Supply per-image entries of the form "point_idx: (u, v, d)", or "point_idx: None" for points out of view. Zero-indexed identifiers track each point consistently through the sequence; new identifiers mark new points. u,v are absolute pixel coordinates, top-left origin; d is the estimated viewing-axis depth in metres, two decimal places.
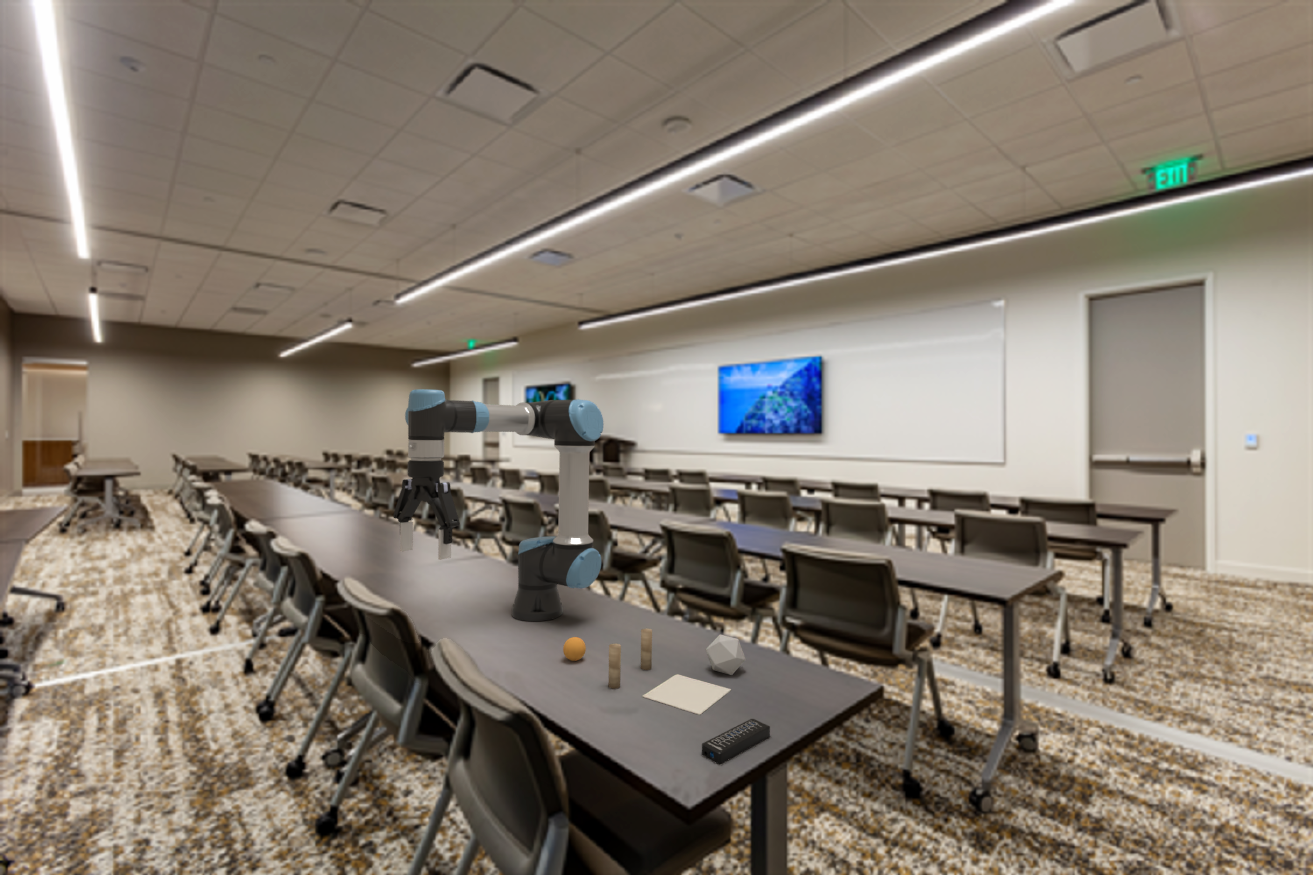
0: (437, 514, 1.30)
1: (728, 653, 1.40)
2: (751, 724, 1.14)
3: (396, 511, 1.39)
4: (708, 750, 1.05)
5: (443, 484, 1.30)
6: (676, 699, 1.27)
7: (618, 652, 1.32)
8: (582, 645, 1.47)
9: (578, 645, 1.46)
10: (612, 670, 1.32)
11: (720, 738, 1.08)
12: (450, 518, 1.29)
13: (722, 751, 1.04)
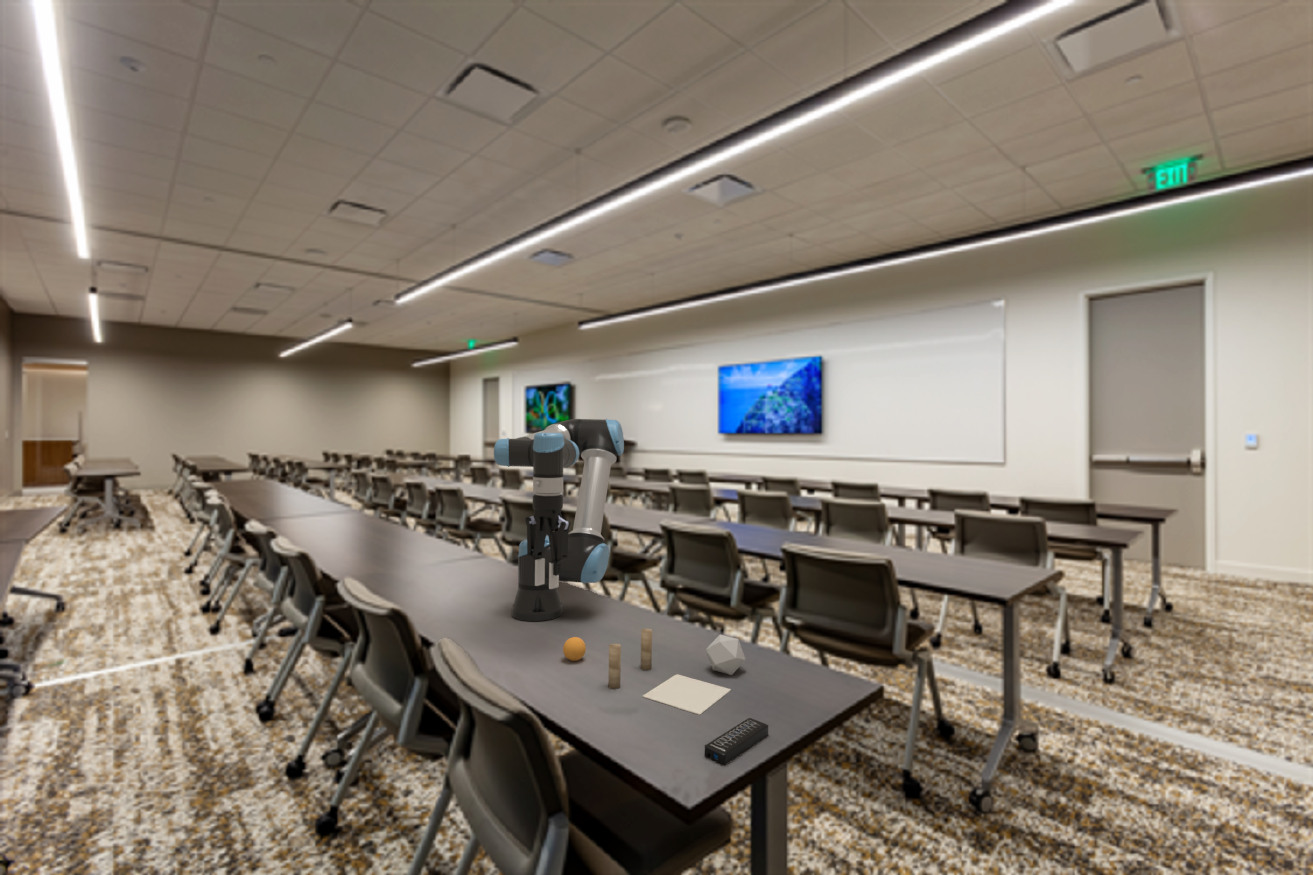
0: (552, 547, 1.50)
1: (728, 653, 1.40)
2: (749, 723, 1.14)
3: (528, 548, 1.55)
4: (712, 752, 1.05)
5: (566, 524, 1.49)
6: (676, 699, 1.27)
7: (618, 652, 1.32)
8: (582, 645, 1.47)
9: (578, 645, 1.46)
10: (612, 670, 1.32)
11: (722, 739, 1.08)
12: (562, 554, 1.49)
13: (726, 752, 1.04)
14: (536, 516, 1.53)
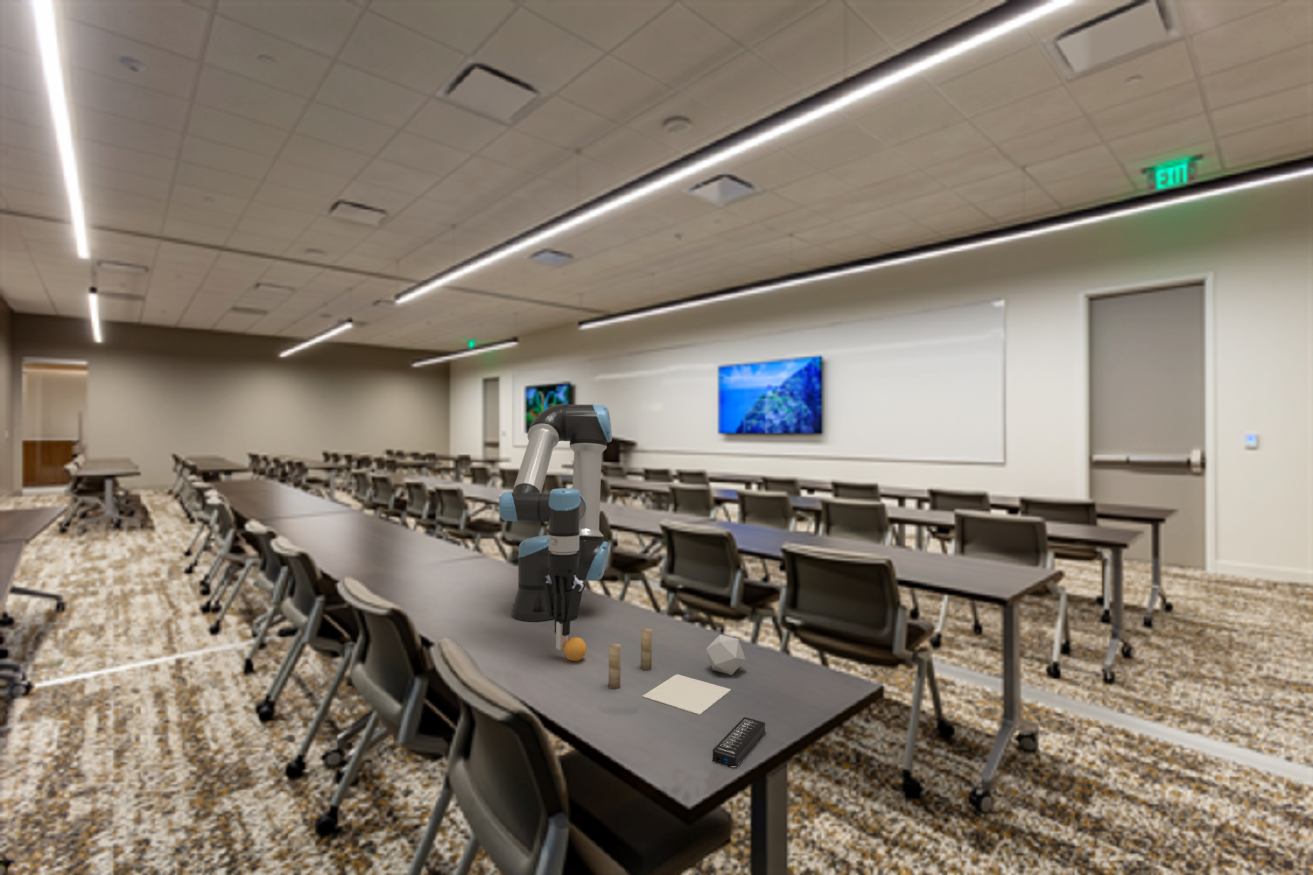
0: (563, 607, 1.47)
1: (728, 653, 1.40)
2: (747, 723, 1.14)
3: (549, 609, 1.50)
4: (721, 755, 1.03)
5: (580, 587, 1.45)
6: (676, 699, 1.27)
7: (618, 652, 1.32)
8: (582, 646, 1.46)
9: (579, 645, 1.46)
10: (612, 670, 1.32)
11: (726, 741, 1.07)
12: (572, 615, 1.46)
13: (736, 754, 1.03)
14: (552, 574, 1.50)
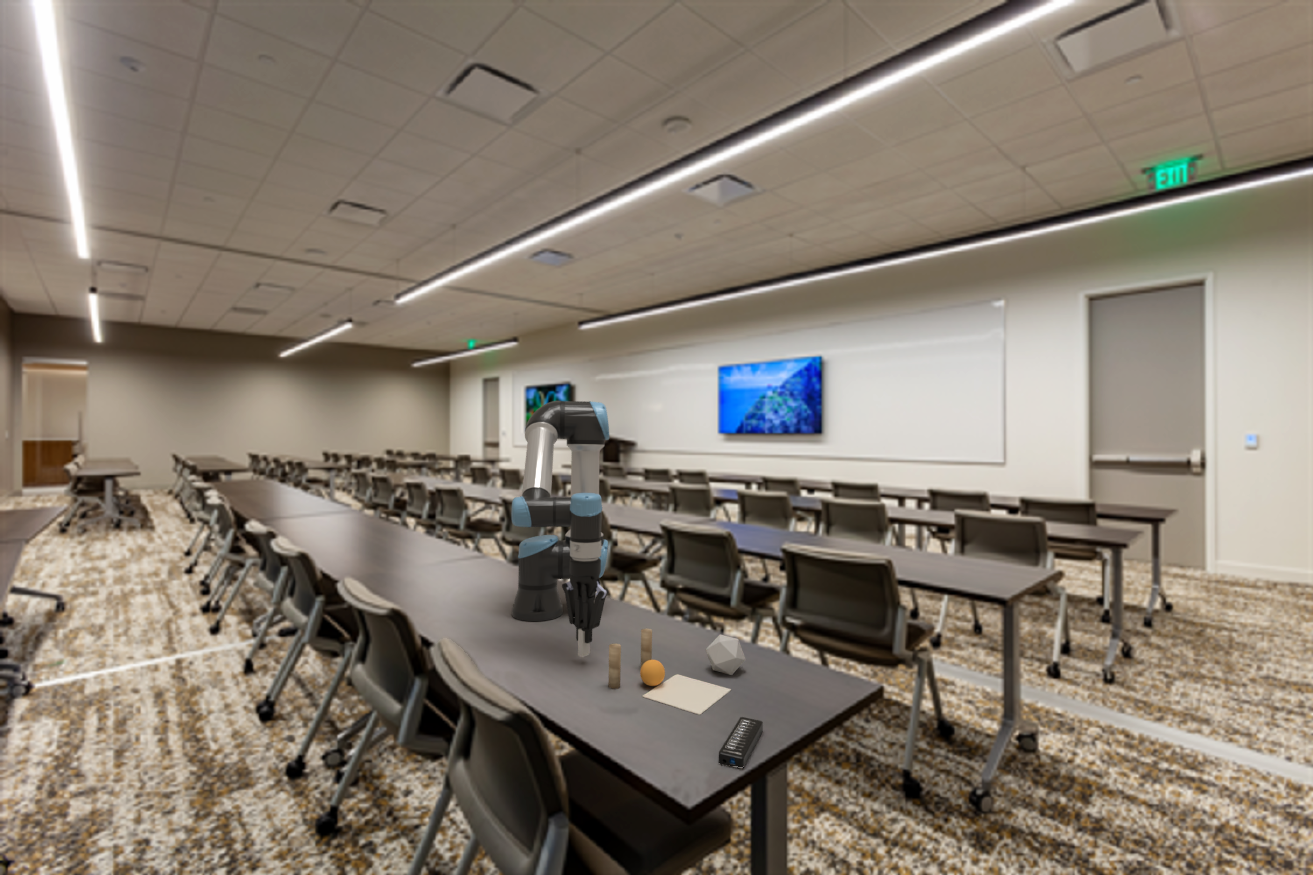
0: (585, 614, 1.44)
1: (728, 653, 1.40)
2: (745, 722, 1.14)
3: (570, 616, 1.47)
4: (728, 757, 1.03)
5: (604, 594, 1.42)
6: (676, 699, 1.27)
7: (618, 652, 1.32)
8: None
9: (651, 685, 1.34)
10: (612, 670, 1.32)
11: (730, 743, 1.07)
12: (595, 623, 1.43)
13: (743, 755, 1.03)
14: (573, 580, 1.47)
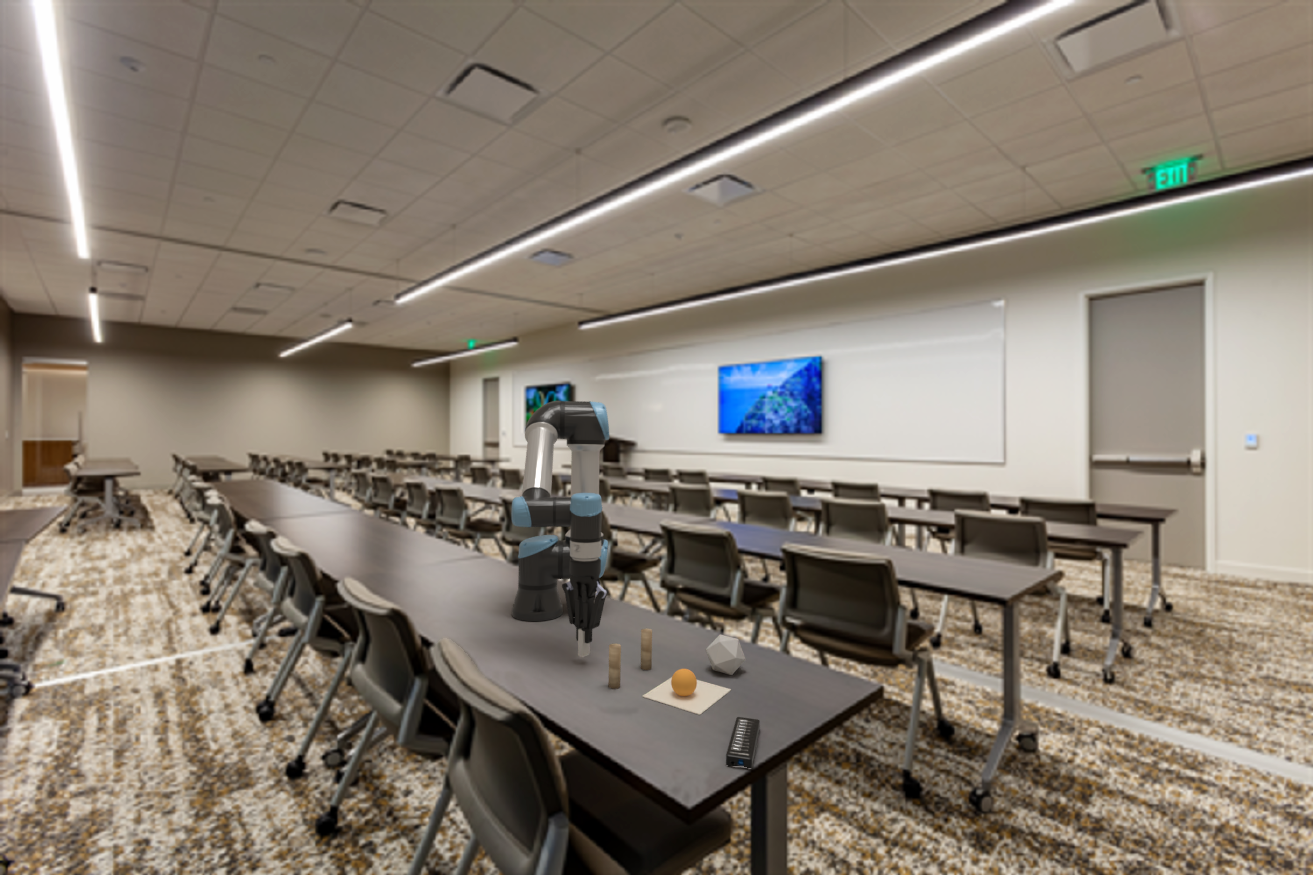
0: (585, 614, 1.44)
1: (728, 653, 1.40)
2: (743, 722, 1.14)
3: (570, 616, 1.47)
4: (736, 759, 1.02)
5: (604, 594, 1.42)
6: (676, 699, 1.27)
7: (618, 652, 1.32)
8: (683, 669, 1.30)
9: (679, 670, 1.29)
10: (612, 670, 1.32)
11: (735, 744, 1.06)
12: (595, 623, 1.43)
13: (751, 755, 1.03)
14: (573, 580, 1.47)
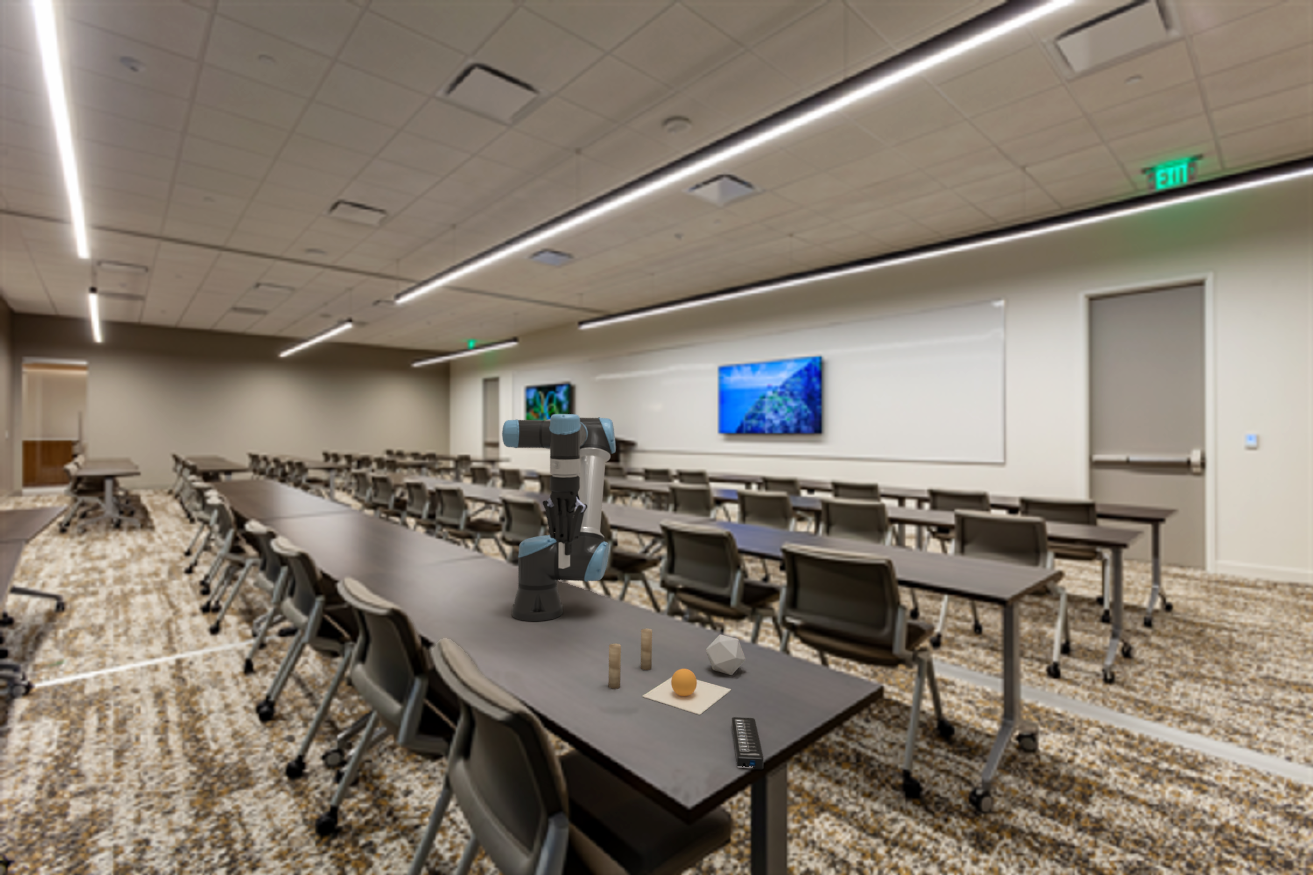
0: (565, 528, 1.52)
1: (728, 653, 1.40)
2: (740, 722, 1.14)
3: (551, 531, 1.55)
4: (748, 760, 1.02)
5: (583, 508, 1.50)
6: (676, 699, 1.27)
7: (618, 652, 1.32)
8: (683, 669, 1.30)
9: (679, 670, 1.29)
10: (612, 670, 1.32)
11: (741, 745, 1.06)
12: (574, 535, 1.51)
13: (761, 755, 1.03)
14: (553, 497, 1.54)
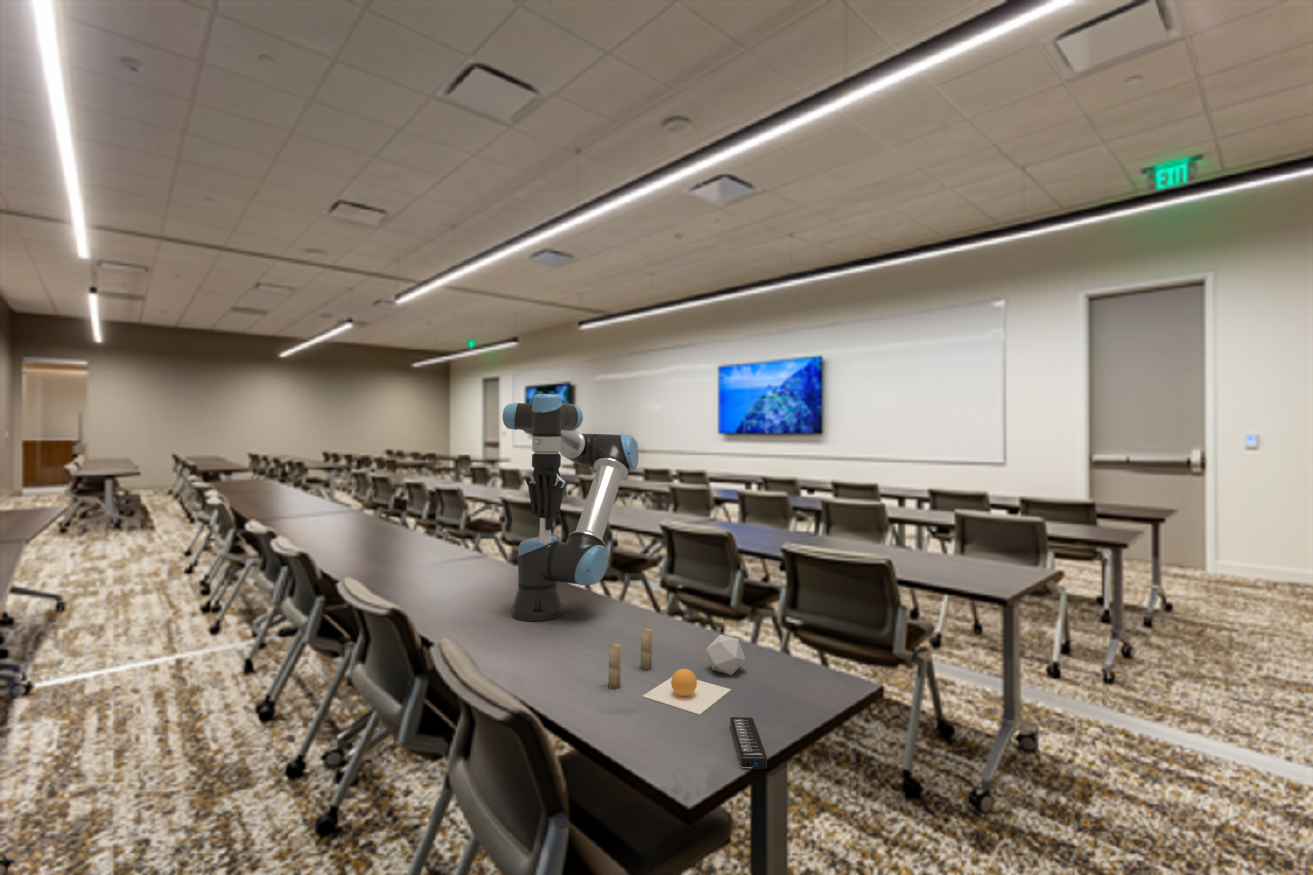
0: (546, 504, 1.58)
1: (728, 653, 1.40)
2: (739, 722, 1.14)
3: (533, 507, 1.61)
4: (752, 760, 1.02)
5: (562, 483, 1.56)
6: (676, 699, 1.27)
7: (618, 652, 1.32)
8: (683, 669, 1.30)
9: (679, 670, 1.29)
10: (612, 670, 1.32)
11: (743, 745, 1.06)
12: (554, 510, 1.57)
13: (765, 754, 1.03)
14: (535, 474, 1.60)
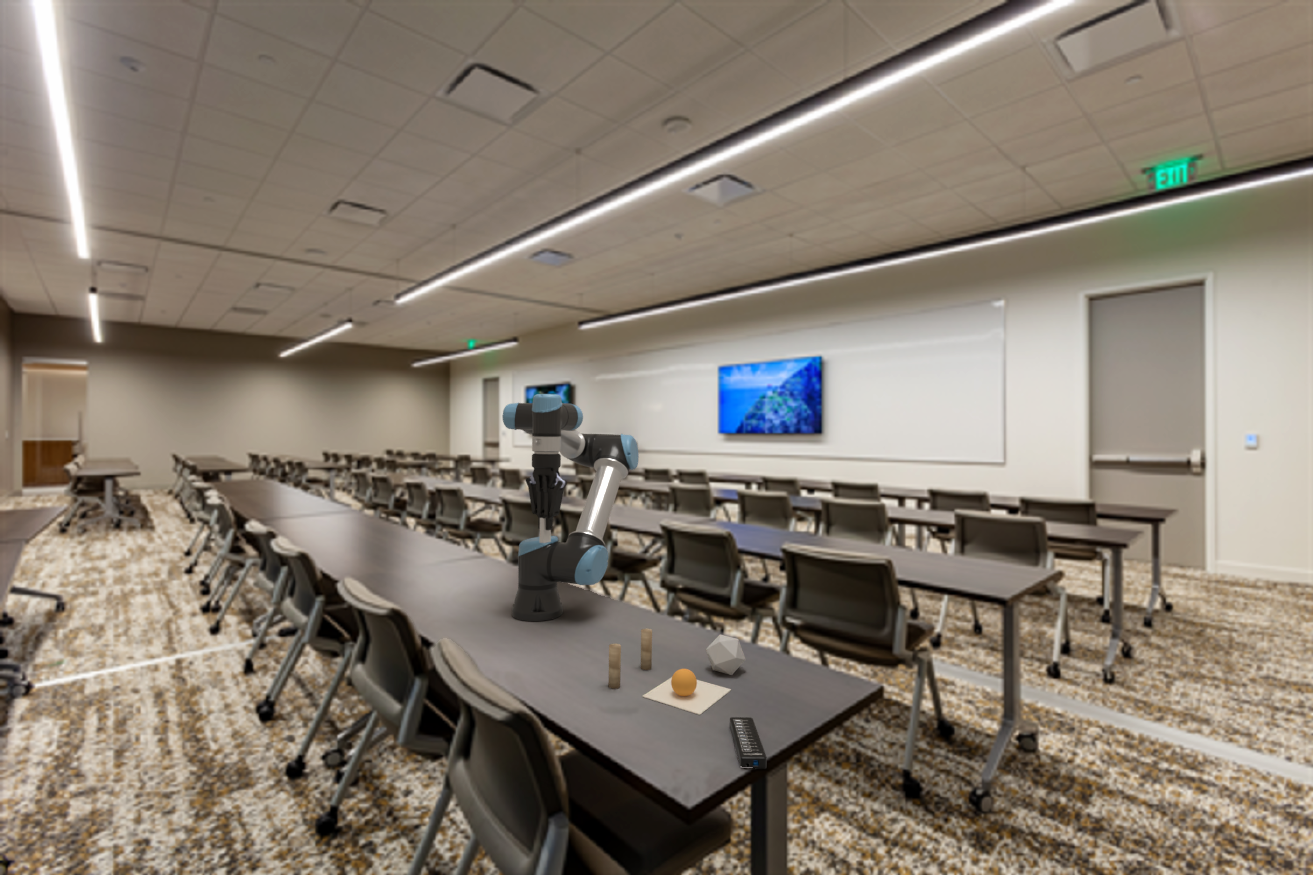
0: (546, 504, 1.58)
1: (728, 653, 1.40)
2: (739, 722, 1.14)
3: (532, 507, 1.61)
4: (751, 760, 1.02)
5: (562, 483, 1.56)
6: (676, 699, 1.27)
7: (618, 652, 1.32)
8: (683, 669, 1.30)
9: (679, 670, 1.29)
10: (612, 670, 1.32)
11: (743, 745, 1.06)
12: (554, 510, 1.57)
13: (764, 754, 1.03)
14: (535, 474, 1.60)
